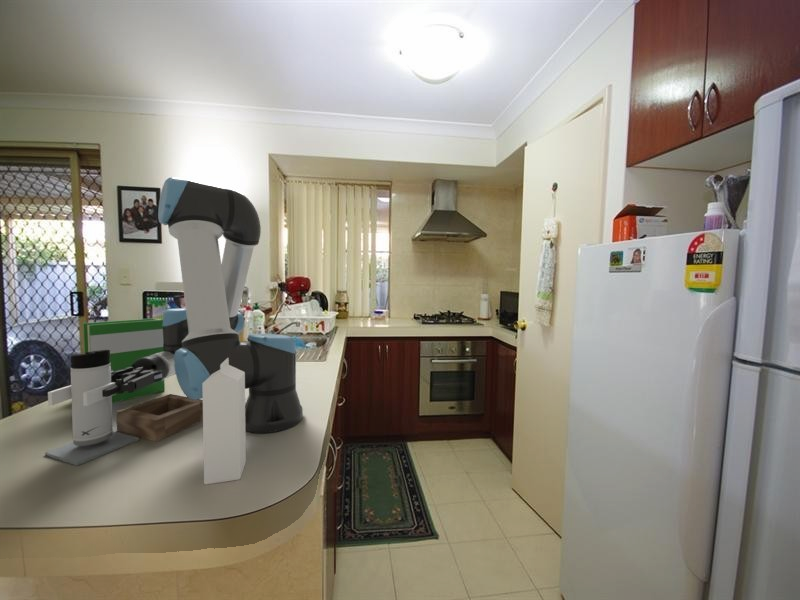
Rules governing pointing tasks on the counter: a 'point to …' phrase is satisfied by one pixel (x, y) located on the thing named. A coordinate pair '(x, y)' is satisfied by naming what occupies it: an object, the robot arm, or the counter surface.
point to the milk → (224, 424)
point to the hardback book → (126, 346)
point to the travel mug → (97, 417)
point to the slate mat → (90, 449)
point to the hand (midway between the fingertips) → (67, 398)
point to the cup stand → (160, 417)
